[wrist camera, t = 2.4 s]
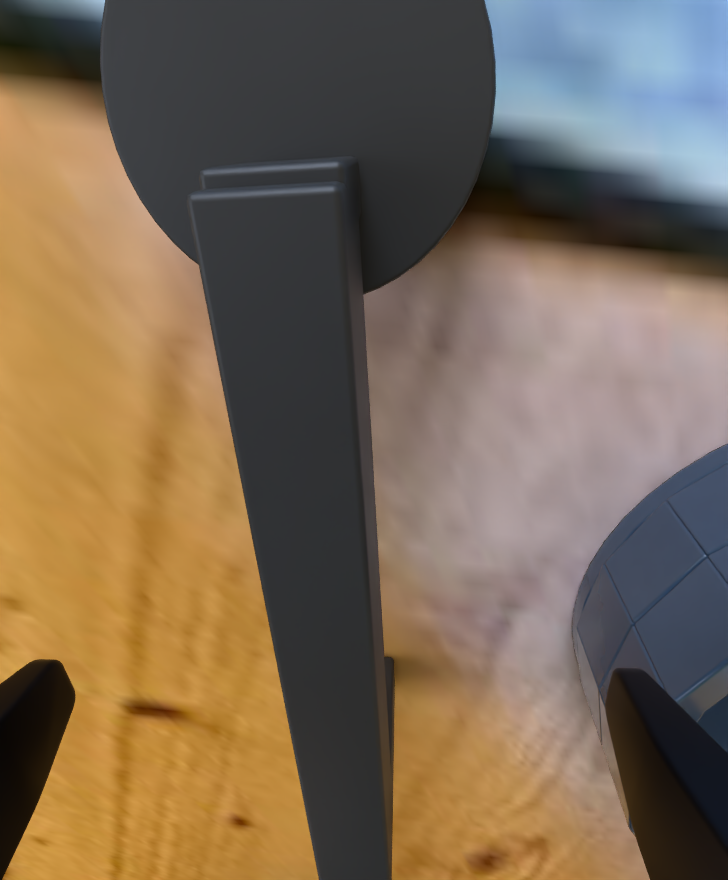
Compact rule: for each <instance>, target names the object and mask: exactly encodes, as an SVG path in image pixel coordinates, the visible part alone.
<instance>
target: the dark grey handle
mask: <svg viewBox="0 0 728 880" xmlns="http://www.w3.org/2000/svg"><path fill="white" fill-rule="evenodd" d="M100 67H101V79H102V92H103V97H104V103H105V108H106V113H107V118H108V123H109V126H110V130H111V133H112V136H113V140H114V143H115V146H116V150H117V152H118V155H119V157H120V159H121V162H122V164H123V167H124V169H125V171H126V174H127V176H128V178H129V180H130V182H131V183H132V185H133V187H134V189H135V191H136V193H137V195H138V196H139V198H140V200H141V201H142V203H143V204H144V206H145V207H146V209H147V210H148V212H149V213H150V215H151V216H152V218H153V219H154V220H155V222H156V223H157V224H158V225H159V227H160V228H161V229H162V230H163V231H164V232H165V234H166V235H167V236H168V237H169V238H170V239H171V241H172V242H173V243H174V244H175V245H177V246H178V247H179V248H180V249H181V250H182V251H183V252H184V253H185V254H186V255H187V256H188V257H189V258H190V259H192V260H193V261H194V262H196V263H197V264H198V265H199V268H200V273H201V279H202V284H203V289H204V294H205V299H206V304H207V309H208V314H209V319H210V325H211V330H212V335H213V340H214V345H215V350H216V355H217V360H218V365H219V371H220V376H221V381H222V386H223V391H224V396H225V401H226V406H227V411H228V416H229V422H230V427H231V432H232V437H233V442H234V447H235V452H236V457H237V462H238V468H239V473H240V478H241V483H242V488H243V493H244V498H245V503H246V508H247V514H248V519H249V524H250V529H251V534H252V539H253V544H254V549H255V554H256V560H257V565H258V570H259V575H260V580H261V585H262V590H263V595H264V600H265V605H266V611H267V616H268V621H269V626H270V631H271V636H272V641H273V646H274V651H275V657H276V662H277V667H278V672H279V677H280V682H281V687H282V692H283V697H284V703H285V708H286V713H287V718H288V723H289V728H290V733H291V738H292V743H293V748H294V754H295V759H296V764H297V769H298V774H299V779H300V784H301V789H302V794H303V800H304V805H305V810H306V815H307V820H308V825H309V830H310V835H311V840H312V846H313V851H314V856H315V861H316V866H317V871H318V876H319V880H392V822H393V761H394V700H395V677H394V660H393V658H392V657H384V643H383V626H382V609H381V592H380V574H379V557H378V540H377V523H376V505H375V488H374V471H373V454H372V436H371V419H370V402H369V385H368V368H367V350H366V333H365V316H364V299H363V294H366V293H368V292H371V291H373V290H376V289H378V288H380V287H382V286H384V285H386V284H388V283H389V282H391V281H393V280H395V279H397V278H399V277H400V276H401V275H403V274H404V273H405V272H407V271H408V270H409V269H411V268H412V267H414V266H415V265H416V264H418V263H419V262H420V261H421V260H422V259H423V258H424V257H425V256H426V255H427V254H428V253H429V252H430V251H431V250H432V249H433V248H434V247H435V246H436V245H437V244H438V243H439V241H440V240H441V239H442V238H443V237H444V235H445V234H446V233H447V232H448V230H449V229H450V228H451V227H452V225H453V223H454V222H455V220H456V219H457V217H458V215H459V214H460V212H461V211H462V209H463V208H464V206H465V204H466V202H467V200H468V198H469V196H470V194H471V192H472V189H473V187H474V185H475V183H476V181H477V178H478V176H479V173H480V170H481V167H482V164H483V161H484V158H485V155H486V151H487V147H488V142H489V138H490V133H491V129H492V124H493V114H494V105H495V95H496V74H495V55H494V46H493V38H492V30H491V26H490V21H489V17H488V13H487V9H486V5H485V1H484V0H105V6H104V13H103V20H102V27H101V48H100Z"/></svg>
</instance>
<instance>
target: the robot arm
mask: <svg viewBox="0 0 728 880" xmlns="http://www.w3.org/2000/svg"><path fill="white" fill-rule="evenodd" d="M74 703H75V690H74V688H73V686H72V683H71V681H70V679H69V677H68V675H67V673H66V671H65V669H64V666H63V665H62V663H61V662H60V661H58V660H44V659H39V660H34V661H32V662H30V663H28V664H27V665H25V666H24V667H23V668H21V669H20V670H19V671H17V672H16V673H15V674H13V675H12V676H11V677H9V678H8V679H6V680H5V681H4V682H2V683H1V684H0V880H2V878H3V876H4V874H5V872H6V870H7V868H8V866H9V864H10V861H11V859H12V857H13V855H14V853H15V851H16V849H17V847H18V844H19V842H20V840H21V838H22V836H23V834H24V832H25V830H26V828H27V825H28V823H29V821H30V819H31V817H32V815H33V812H34V810H35V808H36V806H37V803H38V801H39V799H40V796H41V794H42V791H43V789H44V786H45V783H46V781H47V778H48V775H49V772H50V770H51V767H52V764H53V762H54V759H55V756H56V753H57V751H58V748H59V745H60V743H61V740H62V737H63V734H64V732H65V729H66V726H67V724H68V721H69V718H70V715H71V713H72V710H73V707H74ZM605 713H606V719H607V723H608V727H609V731H610V736H611V740H612V744H613V748H614V753H615V757H616V761H617V765H618V770H619V774H620V778H621V782H622V787H623V791H624V795H625V799H626V803H627V808H628V811H629V815H630V819H631V823H632V827H633V830H634V833H635V836H636V839H637V842H638V845H639V848H640V851H641V854H642V857H643V860H644V863H645V866H646V869H647V872H648V875H649V878H650V880H728V753H727V752H726V751H725V750H724V749H723V748H722V747H721V746H720V745H719V744H718V743H717V742H716V741H715V740H714V739H713V738H712V737H711V736H710V735H709V734H708V733H707V732H706V731H705V730H704V729H703V728H702V727H701V726H700V725H699V724H698V723H697V722H696V721H695V720H694V719H693V718H692V717H691V716H690V715H689V714H688V713H687V712H686V711H685V710H684V709H683V708H682V707H681V706H680V705H679V704H678V703H677V702H676V701H675V700H674V699H673V698H672V697H671V696H670V695H669V694H668V693H667V692H666V691H665V690H664V689H663V688H662V687H661V686H660V685H659V684H658V683H657V682H656V681H655V680H654V679H653V678H652V677H651V676H650V675H649V674H648V673H647V672H645V671H644V670H642V669H639V668H616V669H614V670H613V672H612V675H611V679H610V683H609V688H608V692H607V696H606V701H605Z"/></svg>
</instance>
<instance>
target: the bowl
mask: <svg viewBox="0 0 728 880" xmlns="http://www.w3.org/2000/svg"><path fill="white" fill-rule="evenodd" d="M572 635H573V643H574V651H575V654H576V658H577V661H578V664H579V671H580V681H581V684H582V687H583V690H584V693H585V696H586V699H587V702H588V705H589V708H590V711H591V714H592V717H593V720H594V723H595V726H596V729H597V733H598V736H599V739H600V742H601V745H602V748H603V751H604V754H605V757H606V760H607V763H608V766H609V769H610V772H611V775H612V778H613V781H614V784H615V787H616V790H617V793H618V796H619V799H620V802H621V805H622V808H623V811H624V814H625V817H626V820H627V824H628V827H629V829H630V830H631V832H632V833H633V834H634V835H635V833H634V830H633V827H632V823H631V819H630V815H629V811H628V808H627V803H626V799H625V795H624V791H623V787H622V782H621V778H620V774H619V770H618V765H617V761H616V757H615V753H614V748H613V744H612V740H611V736H610V731H609V727H608V723H607V719H606V713H605V701H606V696H607V692H608V688H609V683H610V679H611V675H612V672H613V670H614V669H616V668H639V669H642V670H644V671H645V672H647V673H648V674H649V675H650V676H651V677H652V678H653V679H654V680H655V681H656V682H657V683H658V684H659V685H660V686H661V687H662V688H663V689H664V690H665V691H666V692H667V693H668V694H669V695H670V696H671V697H672V698H673V699H674V700H675V701H676V702H677V703H678V704H679V705H680V706H681V707H682V708H683V709H684V710H685V711H686V712H687V713H688V714H689V715H690V716H691V717H692V718H693V719H694V720H695V721H696V722H697V723H698V724H699V725H700V726H701V727H702V728H703V729H704V730H705V731H706V732H707V733H708V734H709V735H710V736H711V737H712V738H713V739H714V740H715V741H716V742H717V743H718V744H719V745H720V746H721V747H722V748H723V749H724V750H725V751H726V752H727V753H728V444H726V445H724V446H722V447H720V448H718V449H716V450H714V451H712V452H710V453H708V454H707V455H705V456H703V457H702V458H700V459H698V460H697V461H695V462H694V463H692V464H690V465H689V466H687V467H685V468H684V469H682V470H681V471H679V472H677V473H676V474H675V475H673V476H672V477H671V478H669V479H668V480H667V481H665V482H664V483H663V484H662V485H660V486H659V487H658V488H656V489H655V490H654V491H652V492H651V493H650V494H648V495H647V496H646V497H645V498H644V499H643V500H642V501H641V502H640V503H639V504H638V505H637V506H636V507H635V508H634V509H633V510H632V511H630V512H629V513H628V514H627V515H626V516H625V517H624V518H623V520H622V521H621V522H620V523H619V524H618V525H617V527H616V528H615V529H614V530H613V531H612V533H611V534H610V535H609V536H608V537H607V539H606V540H605V541H604V543H603V544H602V546H601V547H600V549H599V551H598V552H597V554H596V555H595V557H594V558H593V560H592V562H591V563H590V565H589V567H588V570H587V572H586V574H585V576H584V579H583V581H582V583H581V585H580V588H579V592H578V596H577V599H576V603H575V607H574V614H573V626H572ZM635 837H636V836H635Z"/></svg>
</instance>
